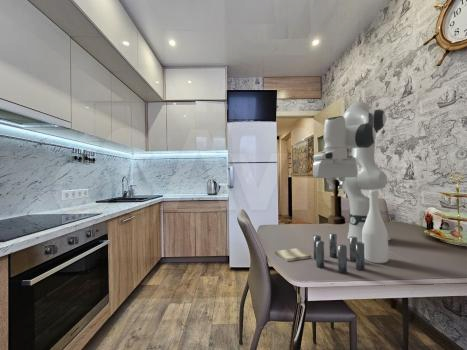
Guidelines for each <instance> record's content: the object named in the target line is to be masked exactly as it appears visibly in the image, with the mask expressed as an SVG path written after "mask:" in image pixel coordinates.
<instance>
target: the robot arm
mask: <svg viewBox="0 0 467 350" xmlns="http://www.w3.org/2000/svg"><path fill="white" fill-rule="evenodd" d="M386 122H387V115H386V114H385V111H384V110H383V109H371V110H370V106H369V104H368V103H366V102H364V101H362V100H361V101H360V100H359V101H356V102H354V103H352V104H351V105H349V106H348V107H347V109H346V110H345V111H344V112H343V115H342V116H341V115H338V116H332V117H328V118H326V119H325V120H324V125H323V141H324V146H323V152H322V151H321V152H319V153H316V154H314V155H313V156H312V159H313V160H314V161H313V163H312V177H313V178H314V179H325V180H326V182H327V184H328V189H329V190H334V189H335V185H333V183H332V181H333V180H334V179H336V180H339V182H340V184H339V186H338V190H339V189H340V190H343V192H344V193H345V194H346V196H347V197H348V203H349V212H350V213H349V216H348V217H349V218H348V219H349V225H348V233H347V239H348V240H349V241H350V237H357V240H358V242H361V243H362V230H363V226H364V224H365V221H366V218H367V215H368V213H369V209H370V197H368V196H366V195H364V194H363V193H362V190H365V191H366V190H368V191H370V190H381V189H384V188H385V187H386V186H387V184H388V176H387V174H386V172H385V171H383V170H381V169H380V168H379V167H378V165H377V163H376V161H375V150H376V149H375V148H376V138H377V133H379V131H380V130H382V129H383V128H384V127H385V124H386ZM348 149H349V150H350V149H352V154H351V155H348ZM358 165H359V166H360V167H361V169H358ZM391 239H392V238H391V237H389V236H388V241H391Z"/></svg>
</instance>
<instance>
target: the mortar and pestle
mask: <svg viewBox="0 0 467 350" xmlns="http://www.w3.org/2000/svg"><path fill="white" fill-rule="evenodd" d="M332 183H333V185H335V189H332V193H333V195H331V196H330V211H331V213H330V215H329V216H328V217H327V223H328V224H331V225H344V224H345V225H346V217H344V215H342V195H339V192H340V191H339V189H338V186H339V184H340V182H339V180H337V179H333V181H332Z"/></svg>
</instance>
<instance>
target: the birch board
mask: <svg viewBox="0 0 467 350" xmlns="http://www.w3.org/2000/svg"><path fill="white" fill-rule="evenodd" d="M274 254H275V255H277V256H278V257H280V258H281V259H283V260H284V261H286V262H294V261H299V260H305V259H306V260H307V259H312V254H310V253H307V252H305V251H303V250H301V249H299V248H298V247H295V248H288V249H287V248H286V249H280V250H275V251H274Z"/></svg>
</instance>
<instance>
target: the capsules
mask: <svg viewBox="0 0 467 350" xmlns="http://www.w3.org/2000/svg"><path fill="white" fill-rule="evenodd" d="M337 235H338V234H336V233H329V239H328V240H329V257H330V258H332V259H336V258H337V262H338V263H337V264H338V266H337V269H338V273H339V274H343V275H346V274H348V250H347V247H348V245H346V244H338V243H337ZM321 237H322V236H320V235H313V260H314V261H316V265H315V266H316V267H317V268H319V269H324V268H325V241H323V240H321V239H322V238H321ZM349 262H350V263H355V269H356V270H358V271H365V270H366V266H365V264H366V263H365V262H366V260H365V258H364V243H362V242H358V240H357V237H350V240H349Z"/></svg>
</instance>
